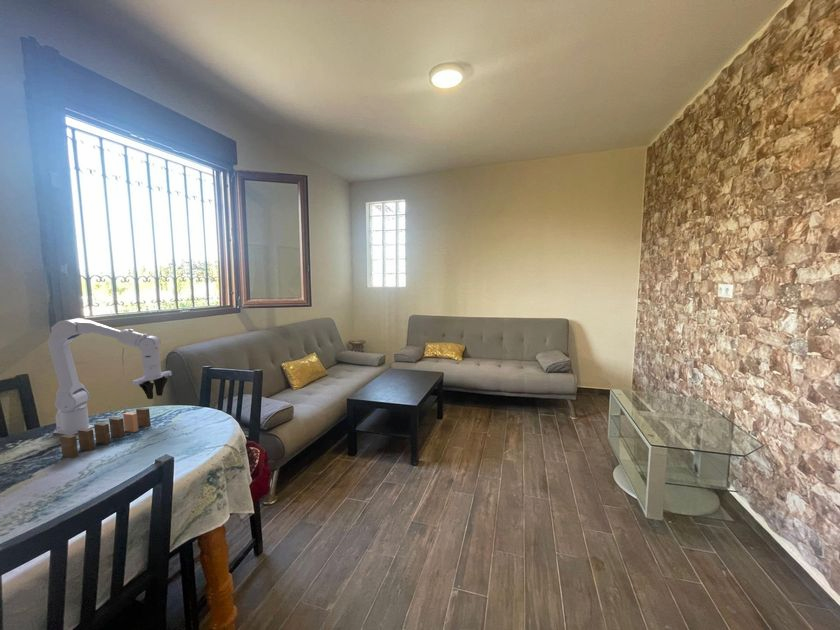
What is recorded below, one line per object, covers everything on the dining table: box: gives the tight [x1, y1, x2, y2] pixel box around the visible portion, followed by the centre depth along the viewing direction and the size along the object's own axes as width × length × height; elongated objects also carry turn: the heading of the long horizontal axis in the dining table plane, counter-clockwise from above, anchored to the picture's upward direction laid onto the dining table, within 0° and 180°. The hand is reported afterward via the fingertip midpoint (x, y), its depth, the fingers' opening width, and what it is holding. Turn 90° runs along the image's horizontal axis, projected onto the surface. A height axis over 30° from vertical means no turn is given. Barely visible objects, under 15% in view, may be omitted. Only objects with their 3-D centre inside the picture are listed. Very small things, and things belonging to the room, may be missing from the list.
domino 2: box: [77, 428, 96, 452], centre depth 117 cm, size 2×5×7 cm, turn 76°
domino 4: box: [108, 416, 126, 439], centre depth 126 cm, size 2×5×7 cm, turn 77°
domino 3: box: [93, 422, 112, 445], centre depth 121 cm, size 2×5×7 cm, turn 77°
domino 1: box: [59, 434, 79, 459], centre depth 112 cm, size 2×5×7 cm, turn 76°
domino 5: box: [135, 407, 151, 428], centre depth 135 cm, size 2×5×7 cm, turn 76°
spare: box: [122, 411, 139, 433], centre depth 131 cm, size 2×5×7 cm, turn 77°
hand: (154, 397), depth 139 cm, fingers open, 3 cm apart
